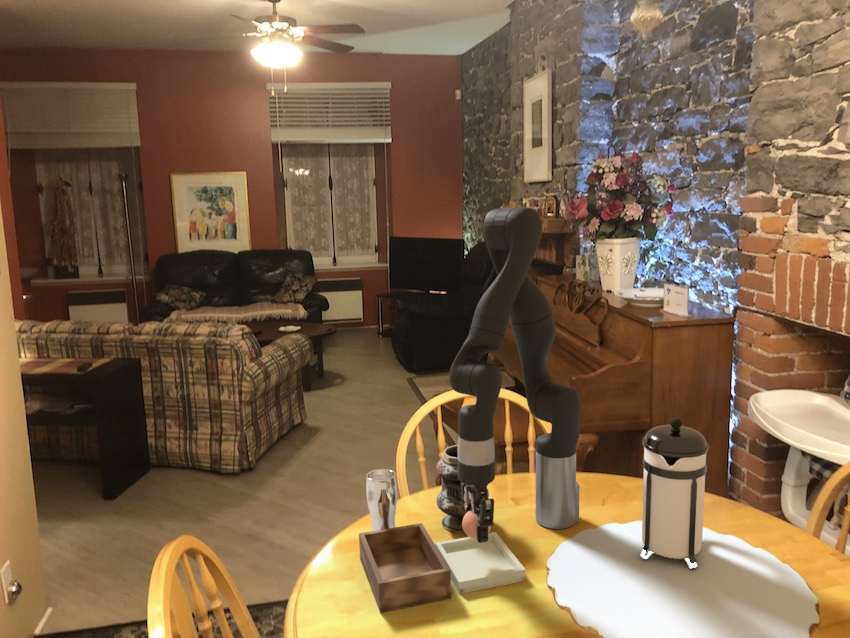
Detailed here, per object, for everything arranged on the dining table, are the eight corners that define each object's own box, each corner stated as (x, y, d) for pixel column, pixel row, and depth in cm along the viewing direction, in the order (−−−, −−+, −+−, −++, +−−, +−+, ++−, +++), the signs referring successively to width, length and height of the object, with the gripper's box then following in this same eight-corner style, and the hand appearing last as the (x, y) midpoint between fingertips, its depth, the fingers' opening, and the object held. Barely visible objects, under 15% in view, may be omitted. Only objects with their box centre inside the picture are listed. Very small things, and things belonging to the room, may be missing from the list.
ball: (485, 528, 147) (485, 502, 146) (495, 541, 141) (495, 514, 140) (458, 532, 145) (458, 506, 144) (468, 546, 140) (467, 519, 139)
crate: (422, 548, 153) (422, 523, 152) (451, 598, 134) (450, 570, 133) (360, 559, 149) (358, 533, 148) (380, 612, 130) (378, 583, 129)
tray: (495, 542, 154) (495, 532, 154) (525, 580, 139) (525, 569, 139) (435, 553, 150) (435, 542, 150) (459, 593, 135) (458, 582, 135)
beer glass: (395, 545, 154) (392, 482, 152) (364, 543, 156) (361, 480, 153) (402, 530, 161) (399, 469, 158) (373, 528, 163) (370, 467, 160)
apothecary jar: (497, 529, 160) (496, 455, 157) (449, 540, 156) (447, 464, 152) (474, 507, 171) (473, 438, 168) (429, 517, 167) (427, 446, 163)
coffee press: (728, 564, 143) (736, 425, 137) (659, 577, 139) (664, 434, 133) (678, 525, 159) (683, 399, 153) (615, 535, 155) (618, 407, 150)
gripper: (507, 467, 134) (507, 548, 137) (481, 442, 148) (482, 516, 151) (470, 473, 132) (471, 554, 135) (447, 446, 146) (449, 521, 149)
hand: (477, 533), depth 143 cm, fingers closed on ball, 6 cm apart
